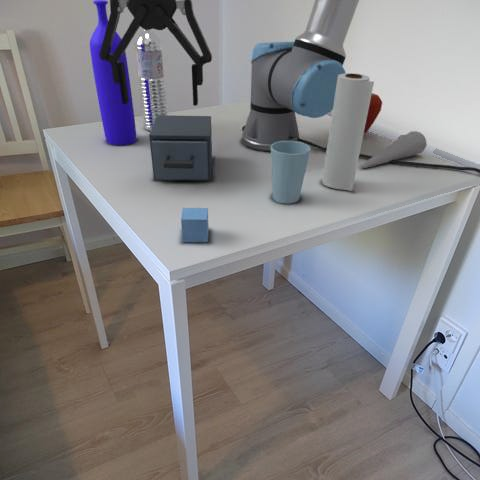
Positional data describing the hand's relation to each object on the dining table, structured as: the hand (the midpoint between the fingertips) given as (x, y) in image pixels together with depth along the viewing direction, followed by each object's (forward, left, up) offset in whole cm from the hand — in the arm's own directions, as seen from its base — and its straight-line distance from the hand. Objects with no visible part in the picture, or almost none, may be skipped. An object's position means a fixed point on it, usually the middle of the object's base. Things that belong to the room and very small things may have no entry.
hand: (160, 103), depth 83 cm
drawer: (-3, -4, -15) cm, 16 cm away
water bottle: (+7, -39, -16) cm, 42 cm away
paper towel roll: (-37, 0, -16) cm, 41 cm away
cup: (-25, +7, -16) cm, 31 cm away
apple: (-50, -35, -16) cm, 63 cm away
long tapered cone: (-54, -14, -16) cm, 58 cm away
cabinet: (-3, -9, -16) cm, 18 cm away
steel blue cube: (-7, +23, -16) cm, 29 cm away
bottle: (+15, -28, -16) cm, 35 cm away
